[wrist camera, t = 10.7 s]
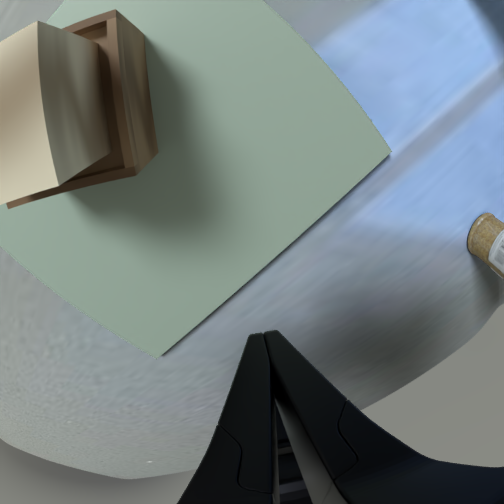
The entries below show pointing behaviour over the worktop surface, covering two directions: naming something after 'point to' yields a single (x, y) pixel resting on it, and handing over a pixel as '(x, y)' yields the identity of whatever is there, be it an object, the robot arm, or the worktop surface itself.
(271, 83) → the board
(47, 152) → the ash block
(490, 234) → the sprinkles bottle
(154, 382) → the worktop surface
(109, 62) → the walnut socket block
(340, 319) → the worktop surface
